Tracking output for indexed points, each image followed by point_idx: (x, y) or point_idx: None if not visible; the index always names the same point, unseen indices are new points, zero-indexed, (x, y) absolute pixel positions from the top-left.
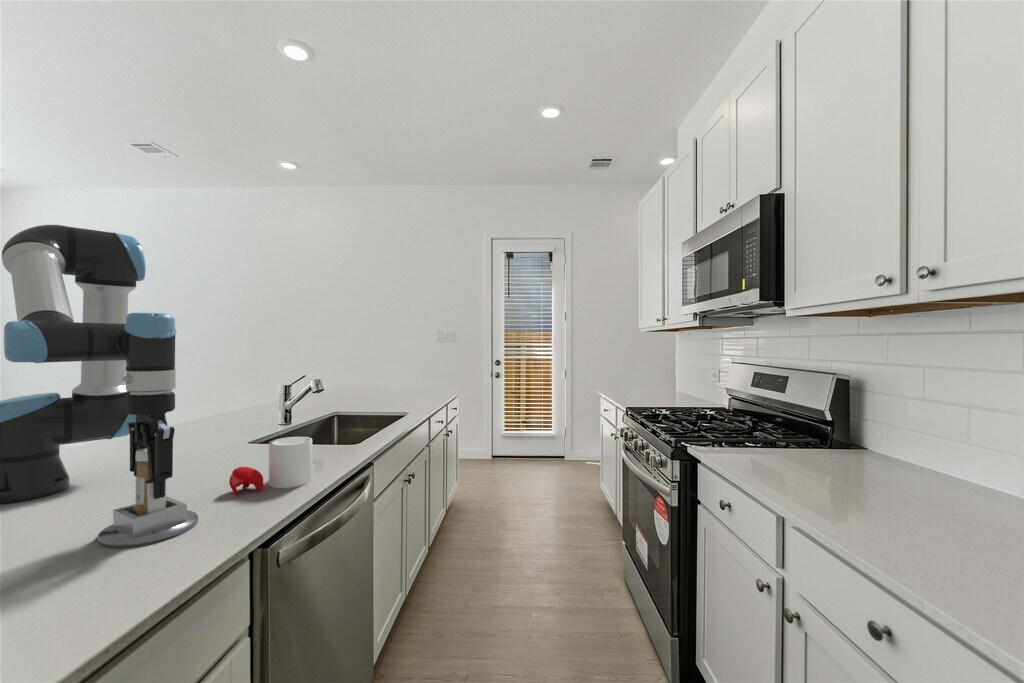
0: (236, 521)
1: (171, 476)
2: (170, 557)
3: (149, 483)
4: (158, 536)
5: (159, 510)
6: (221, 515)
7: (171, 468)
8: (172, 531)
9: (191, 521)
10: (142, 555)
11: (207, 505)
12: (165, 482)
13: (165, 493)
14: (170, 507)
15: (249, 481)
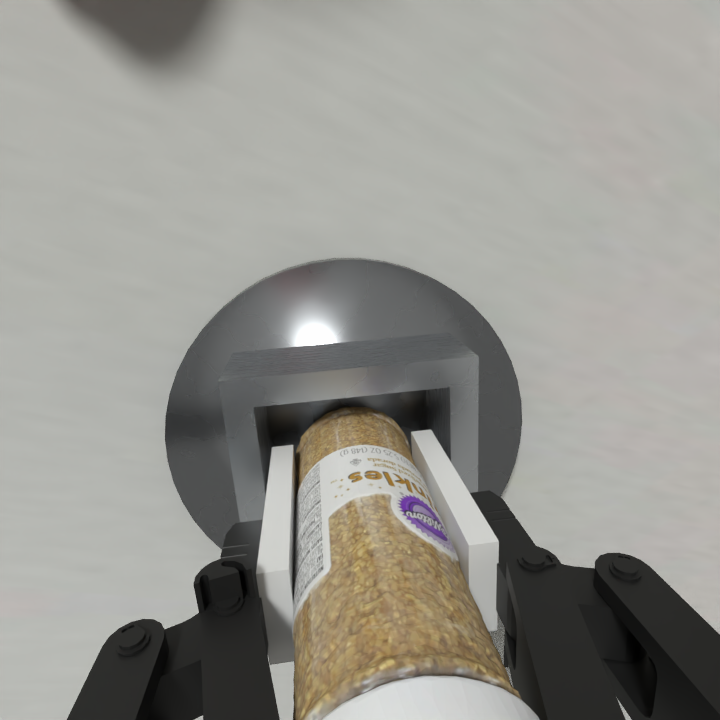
0: (580, 155)
1: (634, 562)
2: (674, 455)
3: (496, 624)
4: (515, 455)
5: (459, 472)
6: (435, 161)
7: (696, 618)
8: (512, 407)
9: (465, 318)
10: (575, 505)
11: (201, 134)
12: (486, 526)
13: (461, 482)
14: (457, 425)
15: None
